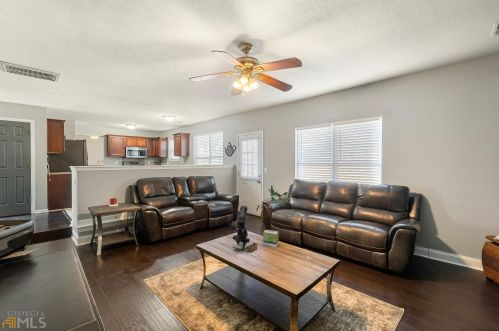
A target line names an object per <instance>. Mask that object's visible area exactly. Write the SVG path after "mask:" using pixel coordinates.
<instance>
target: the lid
mask: <svg viewBox="0 0 499 331" xmlns="http://www.w3.org/2000/svg"><path fill="white" fill-rule="evenodd" d="M234 246H235V249H236V248H239V249H241V248H243V243H242V242H241V241H240V243H239V244H237V243H236V244H235V245H234ZM246 246H248V245H247V243H246V245H245V247H246Z"/></svg>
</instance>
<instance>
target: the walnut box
mask: <svg viewBox="0 0 499 331" xmlns="http://www.w3.org/2000/svg"><path fill="white" fill-rule="evenodd" d="M245 247H246V250H245V251H246V253H249V254H251V253H253V252H255V251H257V250H258V243H257V242H253V243H252V244H250V245H247V246H245Z"/></svg>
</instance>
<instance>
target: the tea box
mask: <svg viewBox="0 0 499 331" xmlns="http://www.w3.org/2000/svg"><path fill="white" fill-rule="evenodd" d="M262 233H263V234H262V245H263V246H266V247H271V248H277V247H278V246H279V237H280V236H279V233H280V232H279V231H278V230H271V229H265V230H264V231H263V232H262Z"/></svg>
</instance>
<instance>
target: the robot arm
mask: <svg viewBox="0 0 499 331" xmlns="http://www.w3.org/2000/svg"><path fill="white" fill-rule="evenodd" d="M248 210H249V208H248V206H246V205H243V206H242V205H241V206H240V207H239V211H240V215H239V218H238V220H237V223H236V228H237V231H236V233H237V234H235V235H233V236H232V240H234V242H236V245H237V244H239V243H241V242H242V243H243V248H244V247H246V246H245V245H246V244H247V243H250V241H251V240H250V238H248V236H249V234H248V233H249V232H248V231H247V227H246V214H247V213H248Z"/></svg>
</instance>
